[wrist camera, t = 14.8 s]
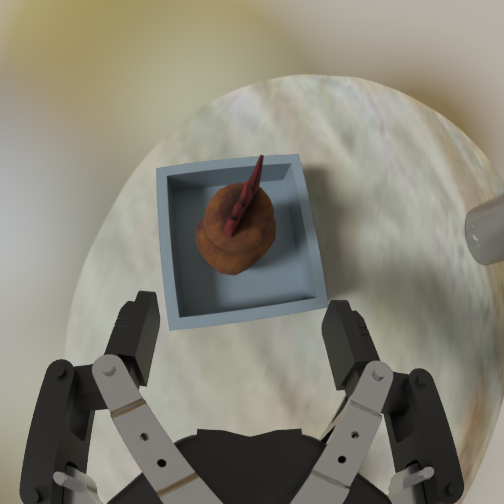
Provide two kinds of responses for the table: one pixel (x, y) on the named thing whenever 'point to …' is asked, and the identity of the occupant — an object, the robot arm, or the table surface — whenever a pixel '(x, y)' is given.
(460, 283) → the table surface
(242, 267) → the wooden figurine
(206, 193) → the box
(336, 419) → the robot arm
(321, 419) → the table surface
